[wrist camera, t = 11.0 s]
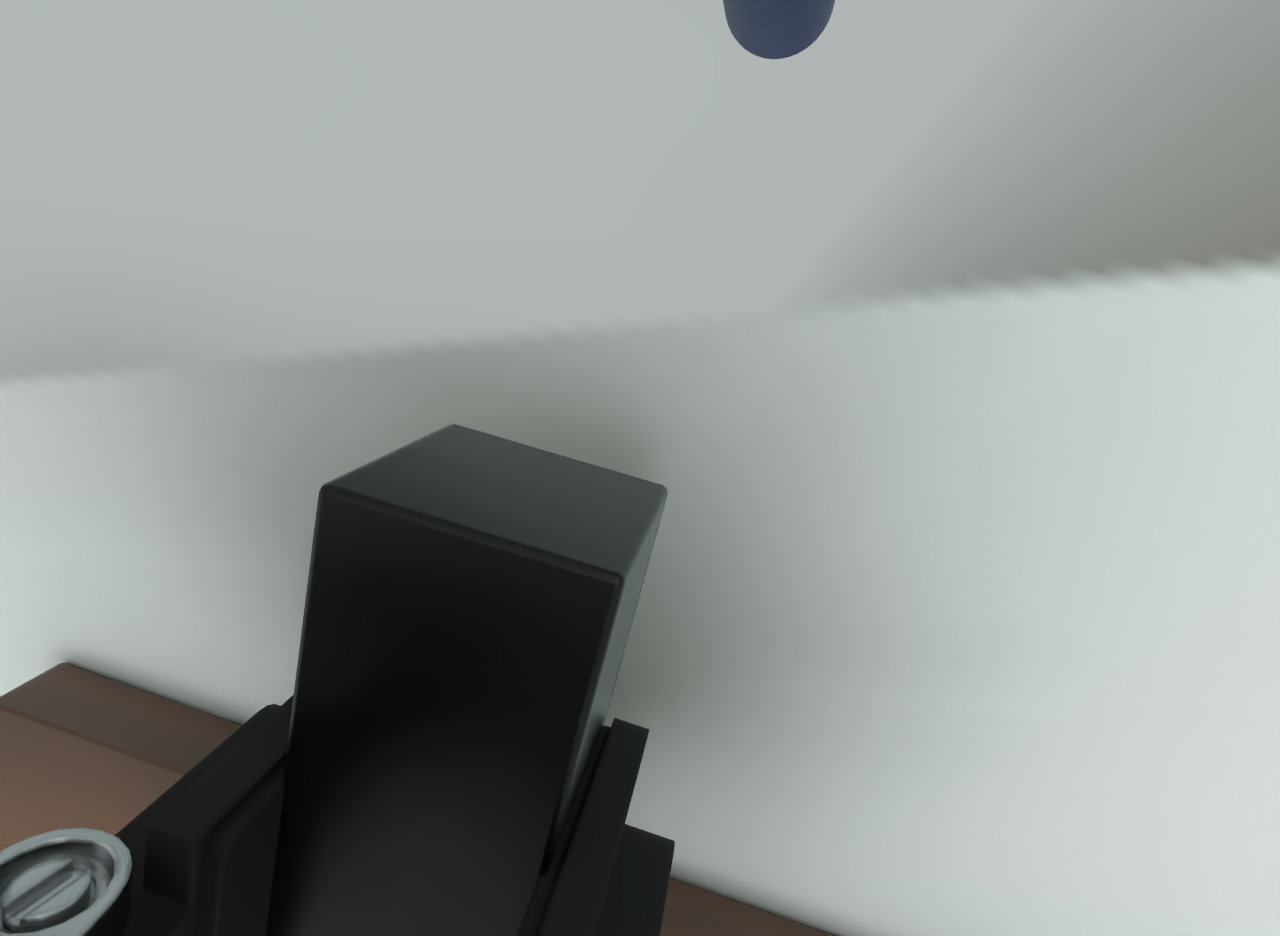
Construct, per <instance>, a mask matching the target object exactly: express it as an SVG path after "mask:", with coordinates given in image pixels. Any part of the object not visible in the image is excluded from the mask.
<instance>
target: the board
mask: <svg viewBox="0 0 1280 936" xmlns="http://www.w3.org/2000/svg"><path fill="white" fill-rule="evenodd" d="M240 727H241V725H238V724H235V723H233V722H230V721H227V720H224V719H221V718H218V717H216V716H213V715H210V714H207V713H204V712H202V711H199V710H196V709H193V708H190V707H187V706H185V705H182V704H179V703H176V702H173V701H171V700H168V699H165V698H162V697H159V696H156V695H154V694H151V693H148V692H145V691H142V690H140V689H137V688H134V687H131V686H128V685H125V684H123V683H120V682H117V681H114V680H111V679H109V678H106V677H103V676H100V675H97V674H94V673H92V672H89V671H86V670H83V669H80V668H78V667H75V666H72V665H69V664H66V663H61V664H58V665H57V666H55V667H53V668H51V669H49V670H48V671H46V672H44V673H42V674H40V675H39V676H37V677H35V678H33V679H31V680H30V681H28V682H26V683H24V684H22V685H21V686H19V687H17V688H15V689H13V690H12V691H10V692H8V693H6V694H4V695H3V696H1V697H0V852H1V851H2V850H4V849H6V848H8V847H10V846H12V845H14V844H16V843H19V842H21V841H23V840H25V839H27V838H29V837H33V836H37V835H40V834H44V833H47V832H51V831H55V830H63V829H73V828H86V829H94V830H102V831H104V832H107V833H109V834H111V835H113V836H114V835H116V834H117V833H118V832H119V831H120V830H121V829H123V828H124V827H125V826H126V825H127V824H128V823H130V822H131V821H132V820H133V819H134V818H135V817H136V816H138V815H139V814H140V813H141V812H142V811H143V810H145V809H146V808H147V807H148V806H149V805H150V804H152V803H153V802H154V801H155V800H156V799H157V798H159V797H160V796H161V795H162V794H163V793H164V792H166V791H167V790H168V789H169V788H170V787H171V786H172V785H174V784H175V783H176V782H177V781H178V780H179V779H181V778H182V777H183V776H184V775H185V774H186V773H188V772H189V771H190V770H191V769H192V768H193V767H195V766H196V765H197V764H198V763H199V762H200V761H202V760H203V759H204V758H205V757H206V756H207V755H208V754H210V753H211V752H212V751H213V750H214V749H215V748H217V747H218V746H219V745H220V744H221V743H222V742H224V741H225V740H226V739H227V738H228V737H229V736H231V735H232V734H233V733H234V732H235V731H236V730H238V729H239V728H240ZM660 936H833V935H830V934H827V933H824V932H822V931H819V930H816V929H813V928H810V927H807V926H805V925H802V924H799V923H796V922H793V921H791V920H788V919H785V918H782V917H779V916H776V915H774V914H771V913H768V912H765V911H762V910H760V909H757V908H754V907H751V906H748V905H745V904H743V903H740V902H737V901H734V900H731V899H729V898H726V897H723V896H720V895H717V894H714V893H712V892H709V891H706V890H703V889H700V888H698V887H695V886H692V885H689V884H686V883H683V882H681V881H678V880H675V879H672V878H669V883H668V889H667V895H666V901H665V907H664V913H663V919H662V925H661V931H660Z"/></svg>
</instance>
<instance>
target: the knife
mask: <svg viewBox="0 0 1280 936" xmlns="http://www.w3.org/2000/svg"><path fill="white" fill-rule="evenodd" d="M666 497H667V489H666V488H665V487H664V486H663V485H660V484H656V483H653V482H649V481H646V480H643V479H639V478H636V477H632V476H629V475H626V474H622V473H619V472H615V471H612V470H609V469H605V468H602V467H598V466H595V465H592V464H588V463H585V462H581V461H578V460H575V459H571V458H568V457H564V456H561V455H558V454H554V453H551V452H547V451H544V450H541V449H537V448H534V447H530V446H527V445H524V444H520V443H517V442H513V441H510V440H507V439H503V438H500V437H496V436H493V435H490V434H486V433H483V432H479V431H476V430H473V429H469V428H466V427H462V426H459V425H456V424H453V425H449V426H446V427H444V428H442V429H440V430H438V431H436V432H434V433H432V434H429V435H427V436H425V437H423V438H421V439H419V440H417V441H415V442H412V443H410V444H408V445H406V446H404V447H402V448H400V449H398V450H396V451H393V452H391V453H389V454H387V455H385V456H383V457H381V458H379V459H376V460H374V461H372V462H370V463H368V464H366V465H364V466H362V467H360V468H357V469H355V470H353V471H351V472H349V473H347V474H345V475H343V476H340V477H338V478H336V479H334V480H332V481H330V482H328V483H326V484H324V485H323V486H322V488H321V490H320V492H319V497H318V505H317V513H316V521H315V529H314V537H313V545H312V553H311V561H310V569H309V577H308V585H307V593H306V601H305V609H304V617H303V625H302V633H301V641H300V649H299V657H298V665H297V673H296V681H295V689H294V697H293V705H292V713H291V721H290V729H289V737H288V745H287V753H286V761H285V769H284V777H283V784H284V785H285V790H284V797H283V805H282V813H281V821H280V829H279V837H278V844H277V852H276V860H275V868H274V876H273V884H272V891H271V899H270V907H269V915H268V923H267V931H266V936H516V935H517V933H518V930H519V927H520V925H521V922H522V919H523V917H524V914H525V912H526V909H527V906H528V904H529V901H530V899H531V896H532V893H533V891H534V888H535V885H536V883H537V880H538V878H539V876H544V875H545V874H546V873H547V872H548V871H549V869H550V866H551V863H552V861H553V858H554V855H555V852H556V850H557V847H558V844H559V842H560V839H561V836H562V833H563V831H564V828H565V825H566V823H567V820H568V817H569V815H570V812H571V809H572V806H573V804H574V801H575V798H576V796H577V793H578V790H579V787H580V785H581V782H582V779H583V777H584V774H585V771H586V769H587V766H588V763H589V760H590V758H591V755H592V752H593V750H594V747H595V744H596V741H597V739H598V736H599V733H600V731H601V728H602V726H603V725H604V722H605V718H606V715H607V711H608V707H609V704H610V700H611V696H612V693H613V689H614V686H615V682H616V678H617V675H618V671H619V667H620V664H621V660H622V657H623V653H624V649H625V646H626V642H627V639H628V635H629V631H630V628H631V624H632V620H633V617H634V613H635V610H636V606H637V602H638V599H639V595H640V591H641V588H642V584H643V581H644V577H645V573H646V570H647V566H648V563H649V559H650V555H651V552H652V548H653V544H654V541H655V537H656V534H657V530H658V526H659V523H660V519H661V515H662V512H663V508H664V505H665V501H666Z"/></svg>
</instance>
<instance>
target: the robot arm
mask: <svg viewBox="0 0 1280 936" xmlns="http://www.w3.org/2000/svg"><path fill="white" fill-rule="evenodd" d="M293 697H294V695H293V696H292V697H291V698H289V699H288V700H287V701H286V702H285V703H284V704H283V705H282V706H279V705H276V704H272V705H268V706H266V707H264V708H263V709H261V710H260V711H259V712H257V713H256V714H255V715H254V716H253V717H251V718H250V719H249V720H248V721H247V722H246V723H244V724H243V725H242V726H241V727H240V728H239V729H238V730H236V731H235V732H234V733H233V734H232V735H231V736H229V737H228V738H227V739H226V740H225V741H224V742H222V743H221V744H220V745H219V746H218V747H217V748H215V749H214V750H213V751H212V752H211V753H210V754H208V755H207V756H206V757H205V758H204V759H203V760H202V761H200V762H199V763H198V764H197V765H196V766H195V767H193V768H192V769H191V770H190V771H189V772H188V773H186V774H185V775H184V776H183V777H182V778H181V779H179V780H178V781H177V782H176V783H175V784H174V785H172V786H171V787H170V788H169V789H168V790H167V791H166V792H164V793H163V794H162V795H161V796H160V797H159V798H157V799H156V800H155V801H154V802H153V803H152V804H150V805H149V806H148V807H147V808H146V809H145V810H143V811H142V812H141V813H140V814H139V815H138V816H136V817H135V818H134V819H133V820H132V821H131V822H130V823H128V824H127V825H126V826H125V827H124V828H123V829H121V830H120V831H119V832H118V833H117V834H116V835H114V836H113V835H111V834H109V833H107V832H104V831H102V830H94V829H86V828H73V829H63V830H55V831H51V832H47V833H44V834H40V835H37V836H33V837H29V838H27V839H25V840H23V841H21V842H19V843H16V844H14V845H12V846H10V847H8V848H6V849H4V850H2V851H1V852H0V936H266V931H267V923H268V915H269V907H270V899H271V891H272V884H273V876H274V868H275V860H276V852H277V844H278V837H279V829H280V821H281V813H282V805H283V797H284V790H285V785H284V784H283V777H284V769H285V761H286V753H287V745H288V737H289V729H290V721H291V713H292V705H293ZM648 733H649V729H646V728H643V727H640V726H637V725H634V724H631V723H628V722H625V721H622V720H619V719H616V718H615V719H614V721H613V724H612V726H611V728H610V727H607V726H604V725H603V726H602V728H601V731H600V733H599V736H598V739H597V741H596V744H595V747H594V750H593V752H592V755H591V758H590V760H589V763H588V766H587V769H586V771H585V774H584V777H583V779H582V782H581V785H580V787H579V790H578V793H577V796H576V798H575V801H574V804H573V806H572V809H571V812H570V815H569V817H568V820H567V823H566V825H565V828H564V831H563V833H562V836H561V839H560V842H559V844H558V847H557V850H556V852H555V855H554V858H553V861H552V863H551V866H550V869H549V871H548V872H547V873H546V874H545V875H544V876H539V878H538V880H537V883H536V885H535V888H534V891H533V893H532V896H531V899H530V901H529V904H528V906H527V909H526V912H525V914H524V917H523V919H522V922H521V925H520V927H519V930H518V933H517V935H516V936H660V931H661V925H662V919H663V913H664V907H665V901H666V895H667V889H668V883H669V877H670V871H671V865H672V859H673V853H674V841H673V840H670V839H667V838H664V837H661V836H658V835H655V834H652V833H650V832H647V831H644V830H641V829H638V828H635V827H632V826H629V825H626V824H625V820H626V816H627V813H628V809H629V805H630V801H631V797H632V794H633V790H634V786H635V782H636V779H637V775H638V771H639V767H640V763H641V760H642V756H643V752H644V748H645V744H646V741H647V737H648Z"/></svg>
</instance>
